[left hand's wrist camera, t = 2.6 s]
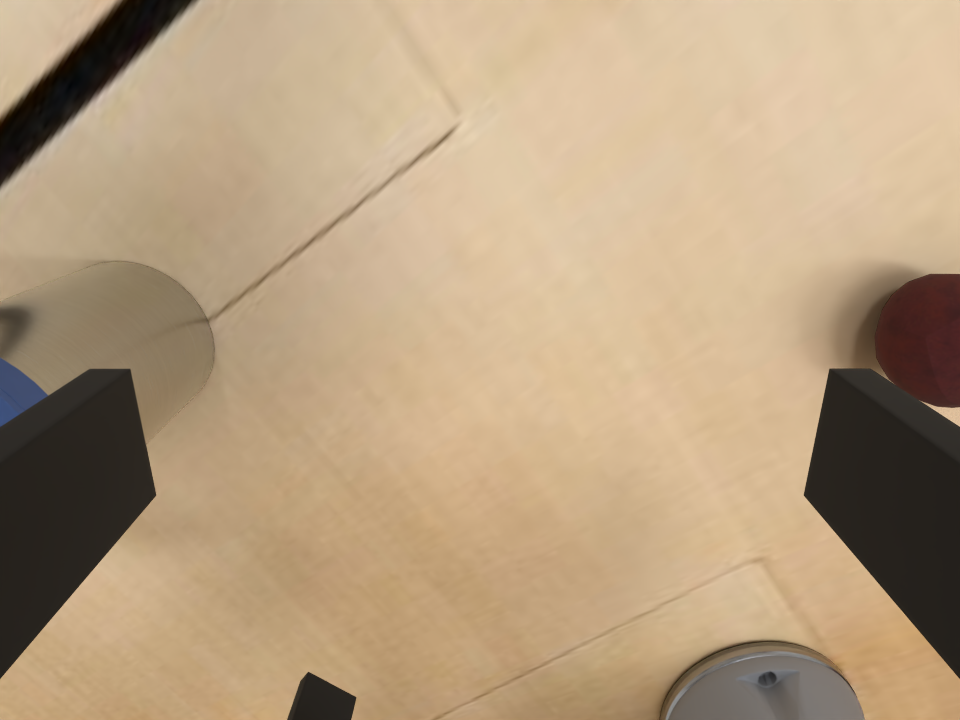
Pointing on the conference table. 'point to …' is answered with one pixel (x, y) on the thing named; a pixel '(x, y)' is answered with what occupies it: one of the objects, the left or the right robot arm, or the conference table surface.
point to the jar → (112, 335)
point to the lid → (16, 392)
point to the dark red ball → (923, 339)
